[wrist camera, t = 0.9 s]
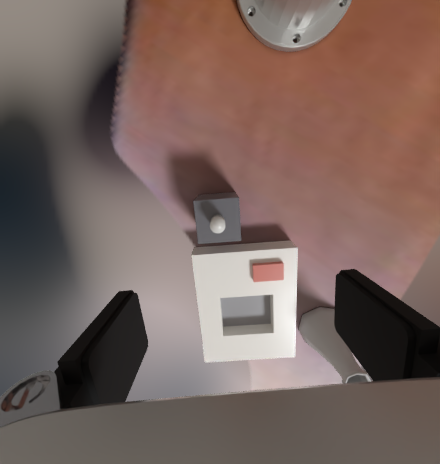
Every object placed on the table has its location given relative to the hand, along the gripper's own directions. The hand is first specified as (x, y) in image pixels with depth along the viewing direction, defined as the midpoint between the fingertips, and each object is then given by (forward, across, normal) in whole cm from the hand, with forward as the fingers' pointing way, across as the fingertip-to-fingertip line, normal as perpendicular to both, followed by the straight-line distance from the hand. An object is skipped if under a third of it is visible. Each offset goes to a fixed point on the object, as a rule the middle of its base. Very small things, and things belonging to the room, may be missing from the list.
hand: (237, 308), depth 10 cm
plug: (+21, +1, -1) cm, 21 cm away
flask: (+21, -14, +19) cm, 32 cm away
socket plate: (+21, -2, +13) cm, 25 cm away
